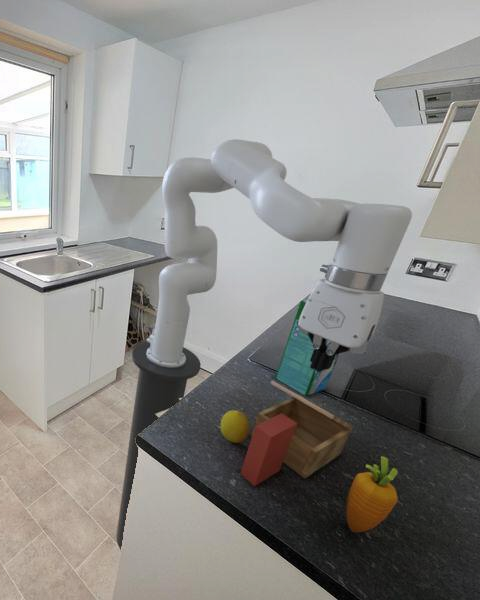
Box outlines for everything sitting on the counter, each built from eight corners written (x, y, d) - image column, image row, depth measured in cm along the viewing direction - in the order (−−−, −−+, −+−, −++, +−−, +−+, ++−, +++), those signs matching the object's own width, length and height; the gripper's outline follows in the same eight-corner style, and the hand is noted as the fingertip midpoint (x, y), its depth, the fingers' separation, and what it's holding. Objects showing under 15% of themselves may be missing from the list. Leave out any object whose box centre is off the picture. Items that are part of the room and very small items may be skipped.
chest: (304, 478, 60) (315, 452, 58) (250, 437, 70) (258, 412, 68) (340, 454, 67) (351, 429, 64) (285, 419, 76) (294, 396, 74)
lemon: (233, 430, 72) (242, 402, 69) (250, 449, 67) (259, 420, 64) (212, 432, 71) (219, 404, 68) (226, 452, 66) (235, 422, 63)
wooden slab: (332, 419, 56) (334, 415, 56) (270, 383, 65) (272, 380, 65) (351, 429, 64) (353, 426, 64) (293, 396, 74) (295, 393, 73)
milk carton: (305, 396, 85) (337, 312, 76) (275, 378, 93) (300, 300, 84) (325, 389, 89) (358, 308, 80) (294, 372, 96) (320, 296, 87)
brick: (240, 473, 61) (255, 425, 57) (265, 459, 64) (281, 413, 60) (254, 486, 58) (271, 437, 54) (279, 470, 62) (297, 423, 58)
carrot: (365, 554, 48) (406, 485, 43) (328, 525, 52) (361, 458, 47) (376, 536, 51) (416, 469, 45) (340, 510, 55) (373, 446, 49)
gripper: (296, 268, 58) (269, 353, 65) (401, 295, 46) (354, 396, 53) (318, 265, 61) (290, 346, 68) (421, 290, 49) (374, 385, 56)
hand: (318, 368), depth 60 cm, fingers closed
